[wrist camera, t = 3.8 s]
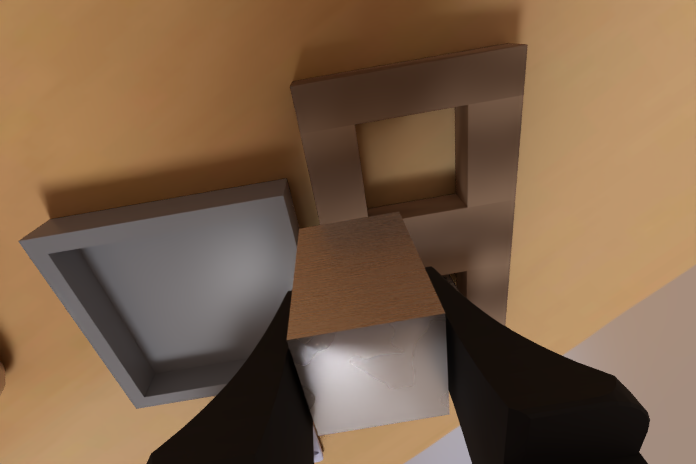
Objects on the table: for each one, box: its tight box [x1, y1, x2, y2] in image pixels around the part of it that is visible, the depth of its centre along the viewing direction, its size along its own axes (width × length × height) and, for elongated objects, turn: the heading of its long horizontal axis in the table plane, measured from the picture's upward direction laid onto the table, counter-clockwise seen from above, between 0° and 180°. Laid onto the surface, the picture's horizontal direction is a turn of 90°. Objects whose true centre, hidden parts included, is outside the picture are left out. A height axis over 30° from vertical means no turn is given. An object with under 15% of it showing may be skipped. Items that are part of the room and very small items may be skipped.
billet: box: [287, 211, 449, 436], centre depth 13 cm, size 4×4×6 cm
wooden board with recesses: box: [290, 43, 527, 326], centre depth 22 cm, size 20×11×2 cm, turn 9°
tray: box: [19, 178, 300, 409], centre depth 23 cm, size 14×14×2 cm
